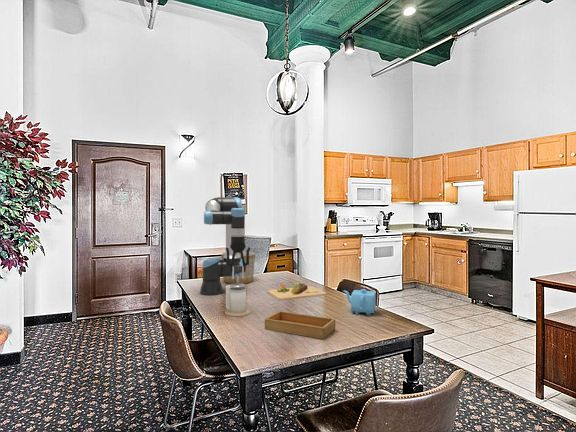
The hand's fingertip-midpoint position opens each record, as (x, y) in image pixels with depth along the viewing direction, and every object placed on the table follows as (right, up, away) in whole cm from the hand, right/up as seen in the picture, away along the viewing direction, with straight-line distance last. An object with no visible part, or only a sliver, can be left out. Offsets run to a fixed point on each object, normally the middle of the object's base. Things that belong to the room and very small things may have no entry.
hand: (237, 277), depth 202 cm
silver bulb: (0, -5, 0) cm, 5 cm away
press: (0, -19, +1) cm, 19 cm away
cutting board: (+34, -19, +45) cm, 60 cm away
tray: (+34, -21, -26) cm, 47 cm away
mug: (-4, -19, +19) cm, 27 cm away
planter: (-11, -17, +82) cm, 85 cm away
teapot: (+67, -20, +4) cm, 70 cm away
